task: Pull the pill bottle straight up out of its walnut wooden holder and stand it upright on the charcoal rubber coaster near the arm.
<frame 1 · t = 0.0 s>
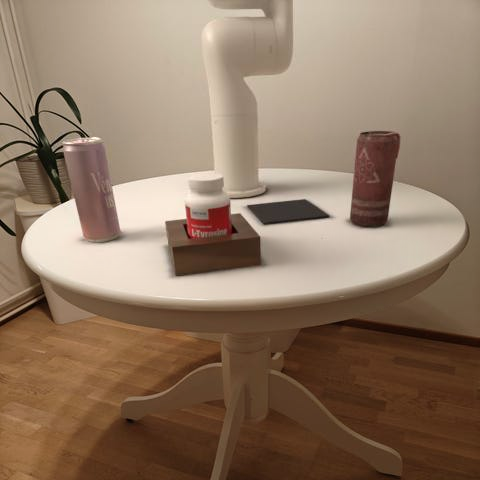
coaster: (286, 212, 78), on the table
can: (368, 223, 71), on the table
pill bottle: (211, 256, 61), resting in holder
beverage can: (103, 238, 70), on the table
holder: (211, 255, 61), on the table
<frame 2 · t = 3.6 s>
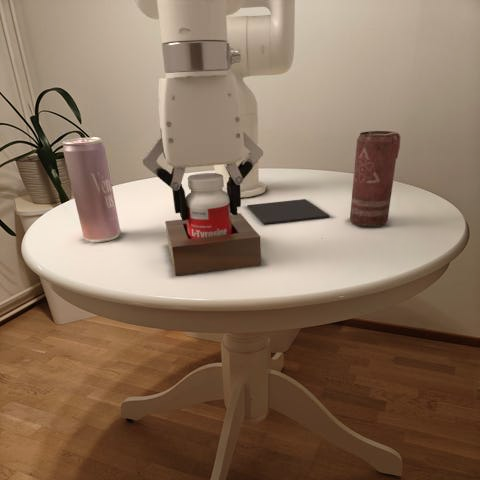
hand: (208, 213, 58), 6 cm above the table, tool pointing down, fingers closed on pill bottle, 6 cm apart
pill bottle: (211, 256, 61), resting in holder, touching gripper
everything else where it was.
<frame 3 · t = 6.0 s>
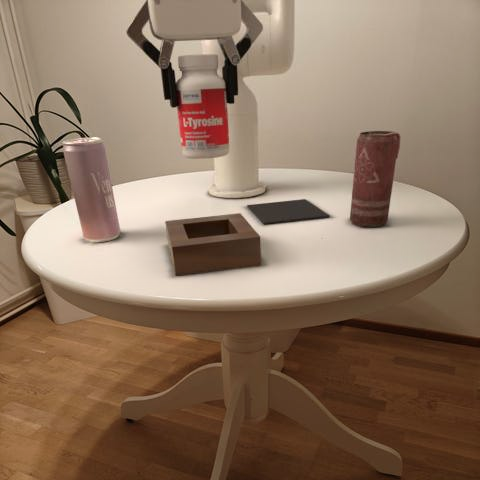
hand: (201, 103, 52), 20 cm above the table, tool pointing down, fingers closed on pill bottle, 6 cm apart
pill bottle: (206, 157, 55), point 13 cm above the table, touching gripper
everything else where it was.
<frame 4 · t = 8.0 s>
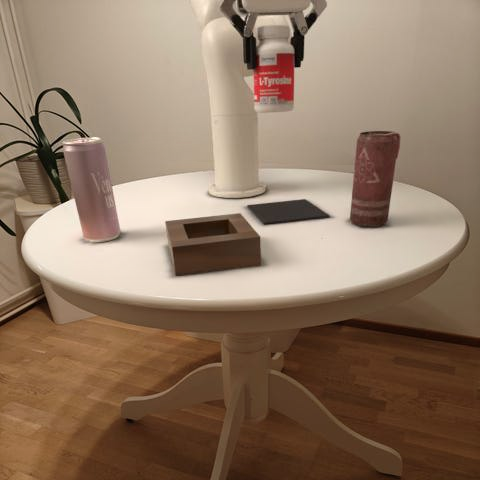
hand: (273, 67, 64), 23 cm above the table, tool pointing down, fingers closed on pill bottle, 6 cm apart
pill bottle: (274, 113, 66), point 17 cm above the table, touching gripper
everything else where it was.
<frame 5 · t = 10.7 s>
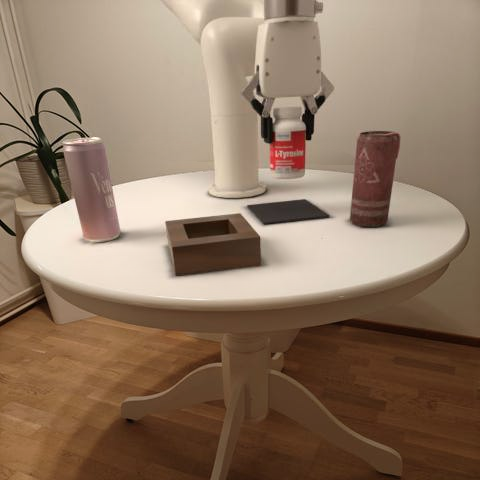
hand: (287, 140, 72), 12 cm above the table, tool pointing down, fingers closed on pill bottle, 6 cm apart
pill bottle: (287, 178, 75), point 6 cm above the table, touching gripper
everything else where it was.
when the fingers open (7 cm above the table, at t = 12.6 s): pill bottle stays where it is, resting on coaster.
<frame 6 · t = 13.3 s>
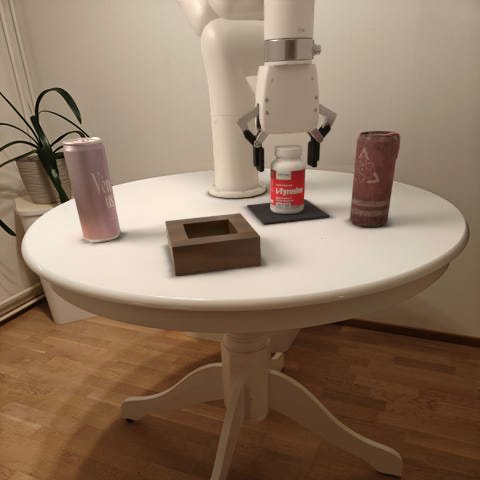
hand: (286, 168, 75), 8 cm above the table, tool pointing down, fingers open, 9 cm apart
pill bottle: (287, 211, 78), resting on coaster
everything else where it was.
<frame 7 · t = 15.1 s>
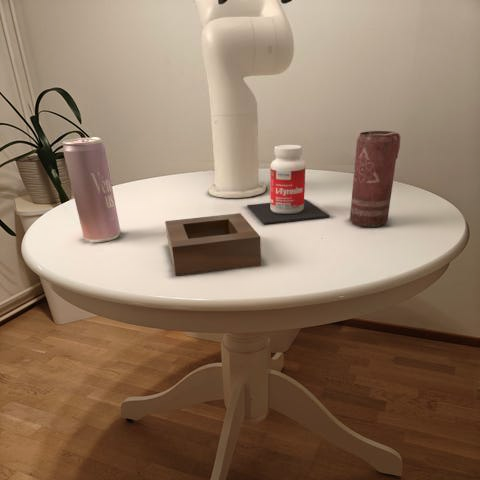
hand: (255, 2, 61), 31 cm above the table, tool pointing down, fingers open, 9 cm apart
nothing on the table moved.
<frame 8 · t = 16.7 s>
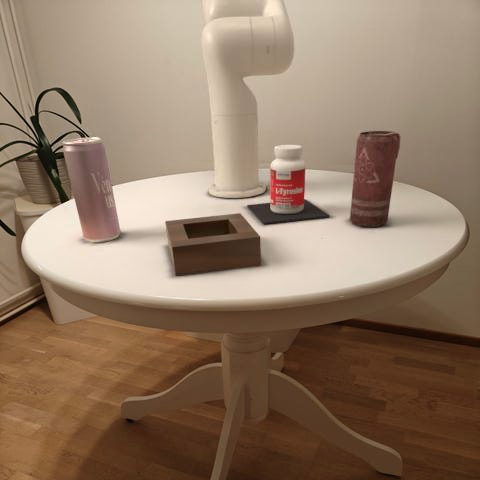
nothing on the table moved.
at the end: pill bottle inside the target area on the coaster (0.5 cm from its centre), point 0.2 cm above the coaster's base; pill bottle tilted 0°; the gripper is holding nothing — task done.
